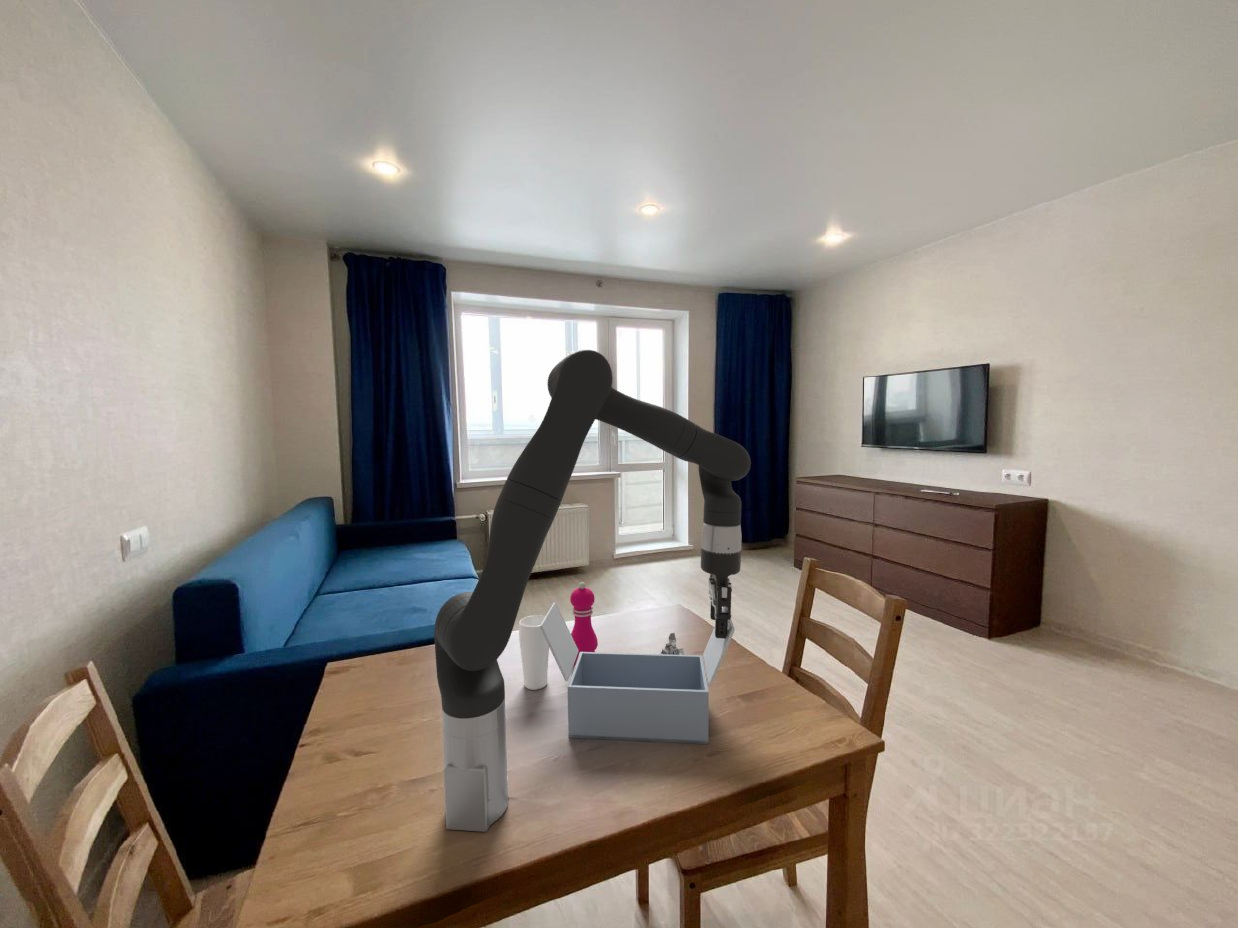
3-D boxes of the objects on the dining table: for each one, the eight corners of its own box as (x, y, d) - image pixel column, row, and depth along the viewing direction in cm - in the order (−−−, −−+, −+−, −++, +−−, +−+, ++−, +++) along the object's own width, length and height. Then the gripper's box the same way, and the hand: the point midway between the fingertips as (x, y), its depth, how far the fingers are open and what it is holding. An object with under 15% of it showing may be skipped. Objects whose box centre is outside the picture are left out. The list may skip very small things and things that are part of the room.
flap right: (708, 685, 89) (711, 686, 89) (732, 628, 88) (734, 629, 88) (703, 654, 101) (705, 655, 101) (723, 604, 100) (726, 605, 100)
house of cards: (706, 666, 118) (707, 636, 117) (676, 674, 114) (676, 643, 114) (686, 651, 126) (686, 622, 125) (657, 658, 122) (657, 628, 122)
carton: (708, 744, 89) (708, 691, 88) (568, 737, 91) (567, 686, 90) (702, 700, 103) (702, 655, 102) (580, 696, 105) (580, 651, 104)
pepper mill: (565, 657, 123) (563, 580, 121) (591, 651, 126) (590, 576, 124) (574, 670, 116) (573, 588, 115) (602, 663, 119) (601, 584, 118)
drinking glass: (553, 677, 113) (552, 615, 112) (546, 693, 106) (545, 627, 105) (525, 676, 114) (523, 614, 113) (516, 692, 107) (514, 626, 106)
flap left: (541, 625, 91) (539, 626, 91) (567, 680, 91) (565, 681, 91) (555, 601, 103) (553, 602, 103) (578, 650, 103) (576, 651, 103)
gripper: (747, 557, 86) (744, 645, 87) (735, 538, 100) (732, 614, 101) (704, 555, 86) (701, 643, 88) (698, 537, 100) (696, 612, 102)
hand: (718, 627), depth 94 cm, fingers open, 8 cm apart
